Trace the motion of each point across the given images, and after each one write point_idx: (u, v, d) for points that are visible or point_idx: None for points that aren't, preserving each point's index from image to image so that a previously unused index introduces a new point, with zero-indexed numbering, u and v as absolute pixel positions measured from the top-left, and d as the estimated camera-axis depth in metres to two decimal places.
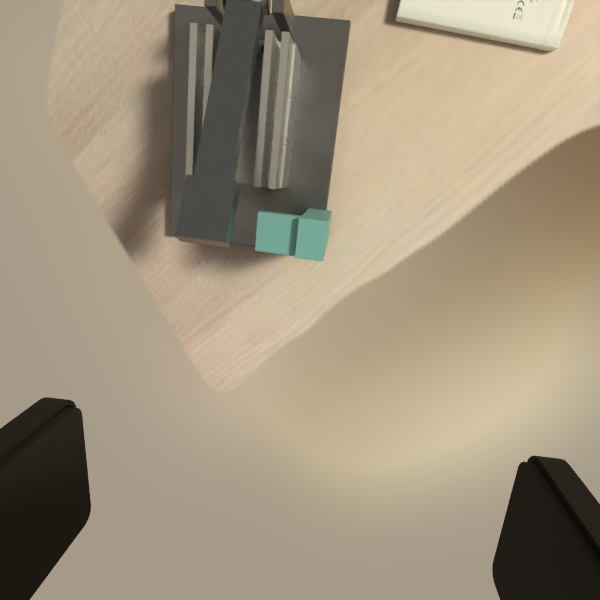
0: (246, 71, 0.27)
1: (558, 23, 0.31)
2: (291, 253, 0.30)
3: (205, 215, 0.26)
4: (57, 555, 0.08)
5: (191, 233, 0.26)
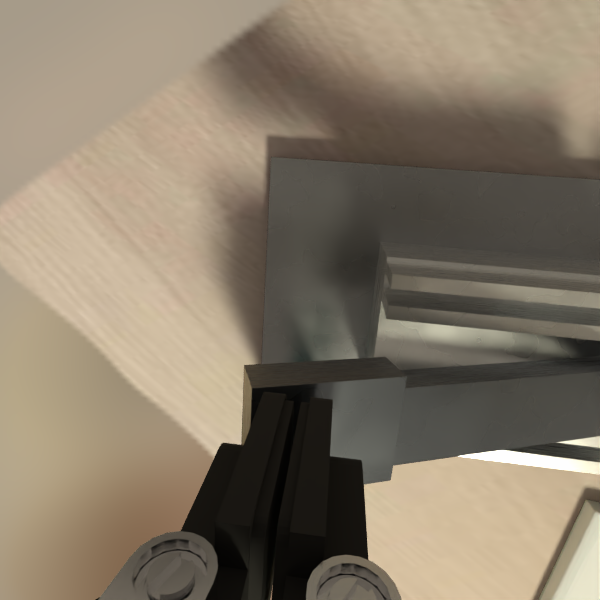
0: (597, 431, 0.14)
1: None
2: None
3: None
4: None
5: None
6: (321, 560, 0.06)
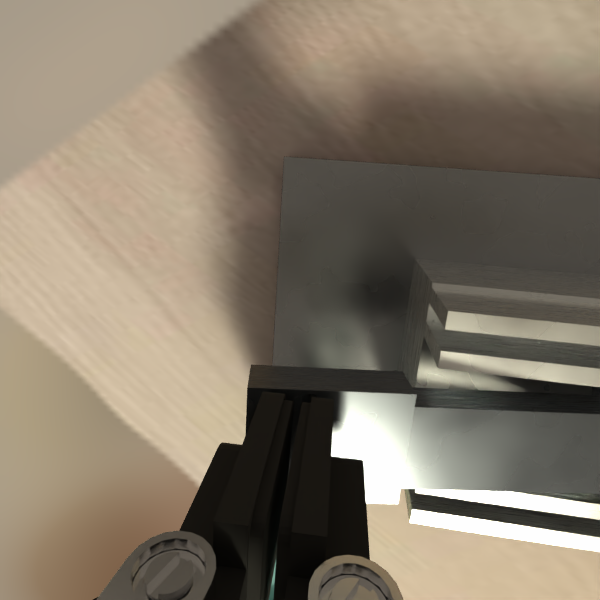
0: None
1: None
2: None
3: None
4: None
5: None
6: (322, 560, 0.06)
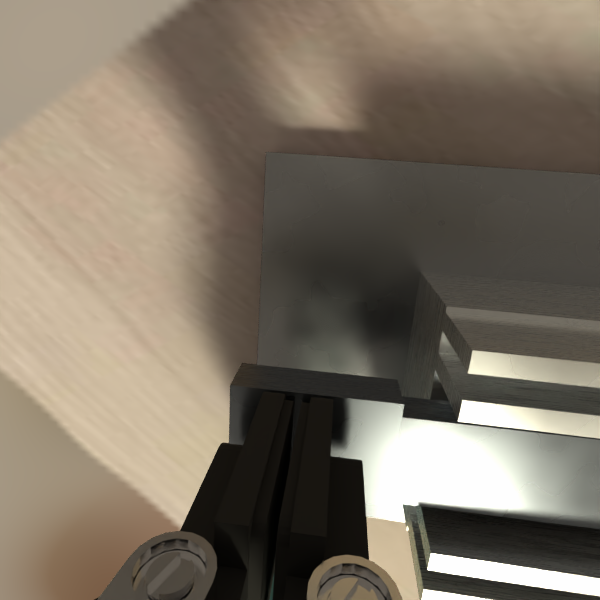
0: None
1: None
2: None
3: (291, 453, 0.10)
4: None
5: (241, 424, 0.10)
6: (321, 560, 0.06)
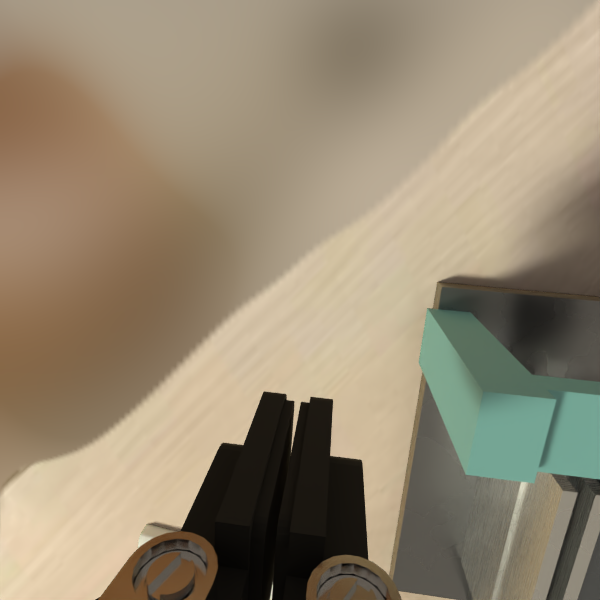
0: None
1: None
2: (556, 395, 0.12)
3: None
4: None
5: None
6: (321, 560, 0.06)
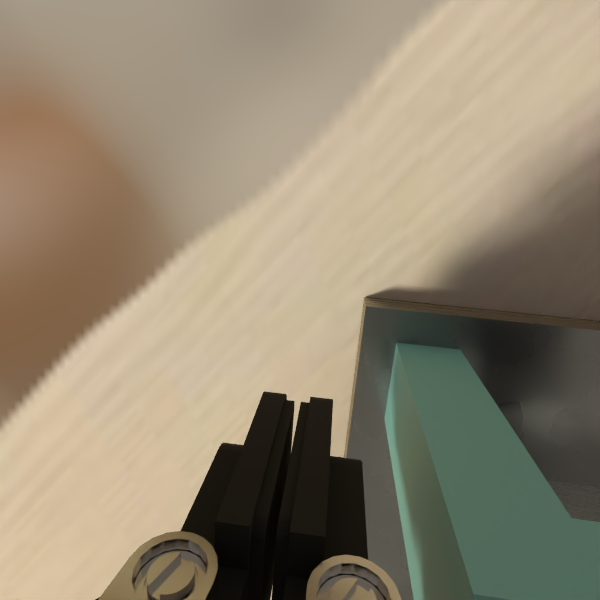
0: None
1: None
2: None
3: None
4: None
5: None
6: (321, 560, 0.06)
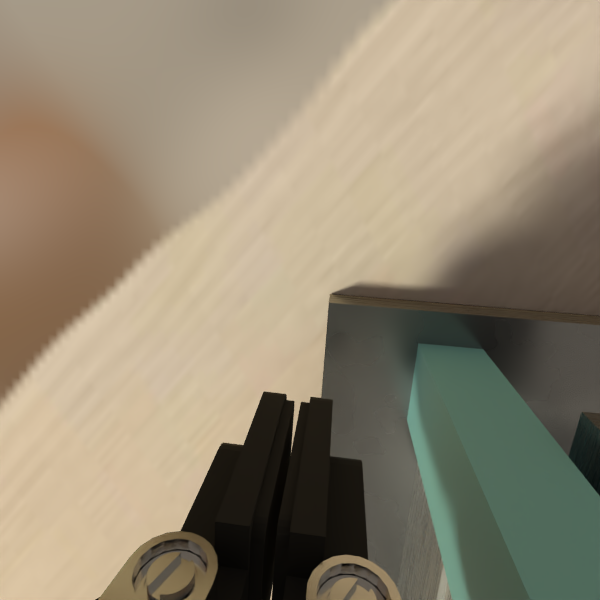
0: None
1: None
2: None
3: None
4: None
5: None
6: (321, 560, 0.06)
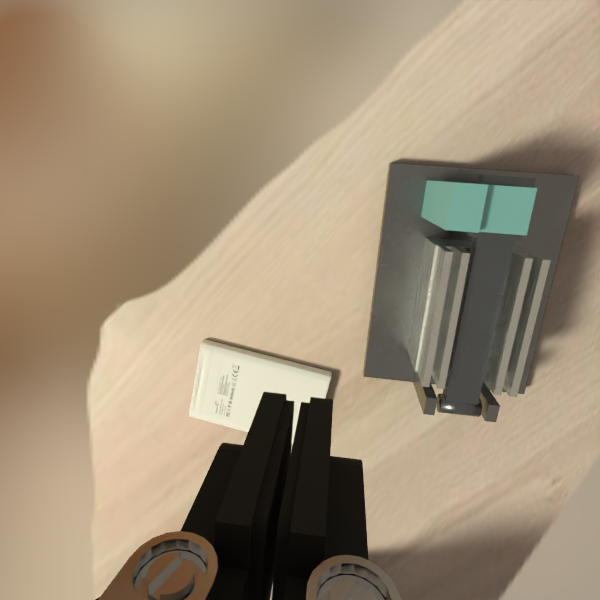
0: (460, 340, 0.30)
1: (204, 359, 0.39)
2: (490, 187, 0.25)
3: None
4: None
5: (518, 181, 0.27)
6: (321, 560, 0.06)
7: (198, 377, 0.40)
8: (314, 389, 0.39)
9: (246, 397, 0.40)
